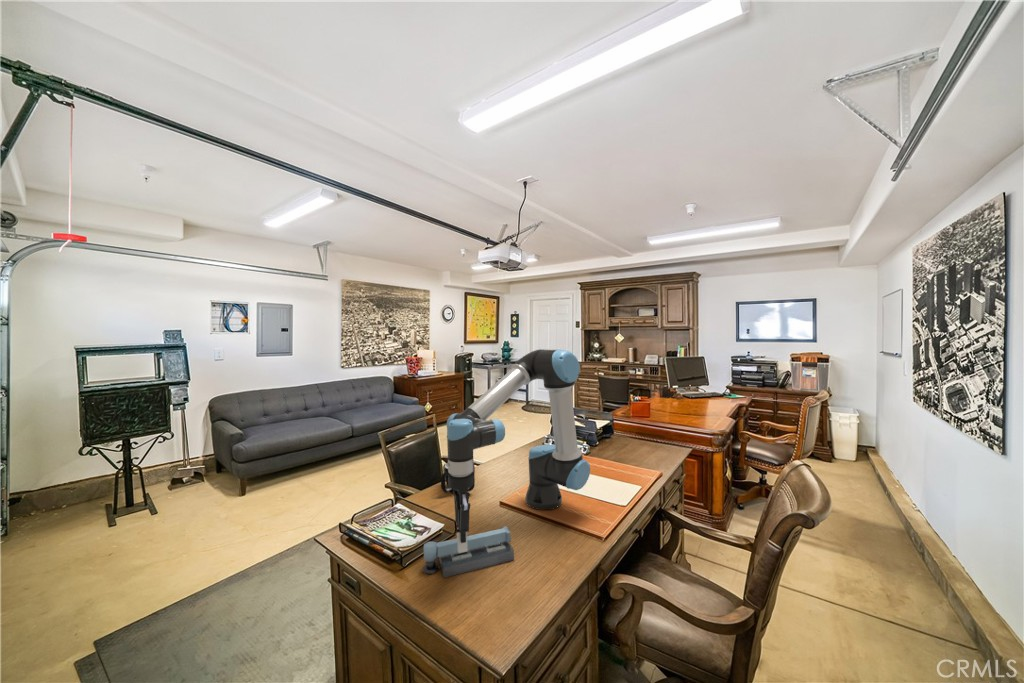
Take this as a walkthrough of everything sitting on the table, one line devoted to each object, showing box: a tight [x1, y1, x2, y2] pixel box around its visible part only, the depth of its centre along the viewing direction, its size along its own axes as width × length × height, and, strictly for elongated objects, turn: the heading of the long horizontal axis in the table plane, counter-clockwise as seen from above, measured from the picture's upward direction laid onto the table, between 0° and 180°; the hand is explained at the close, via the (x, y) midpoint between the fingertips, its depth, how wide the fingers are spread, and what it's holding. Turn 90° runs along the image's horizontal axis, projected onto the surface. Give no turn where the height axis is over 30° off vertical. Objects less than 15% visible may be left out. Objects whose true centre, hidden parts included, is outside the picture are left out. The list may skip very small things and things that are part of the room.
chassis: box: [438, 541, 515, 579], centre depth 116 cm, size 22×11×3 cm, turn 110°
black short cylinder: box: [422, 559, 440, 576], centre depth 111 cm, size 5×5×4 cm
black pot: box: [440, 463, 476, 495], centre depth 166 cm, size 16×16×12 cm
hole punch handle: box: [423, 526, 512, 562], centre depth 115 cm, size 27×4×4 cm, turn 110°
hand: (462, 550), depth 108 cm, fingers closed
